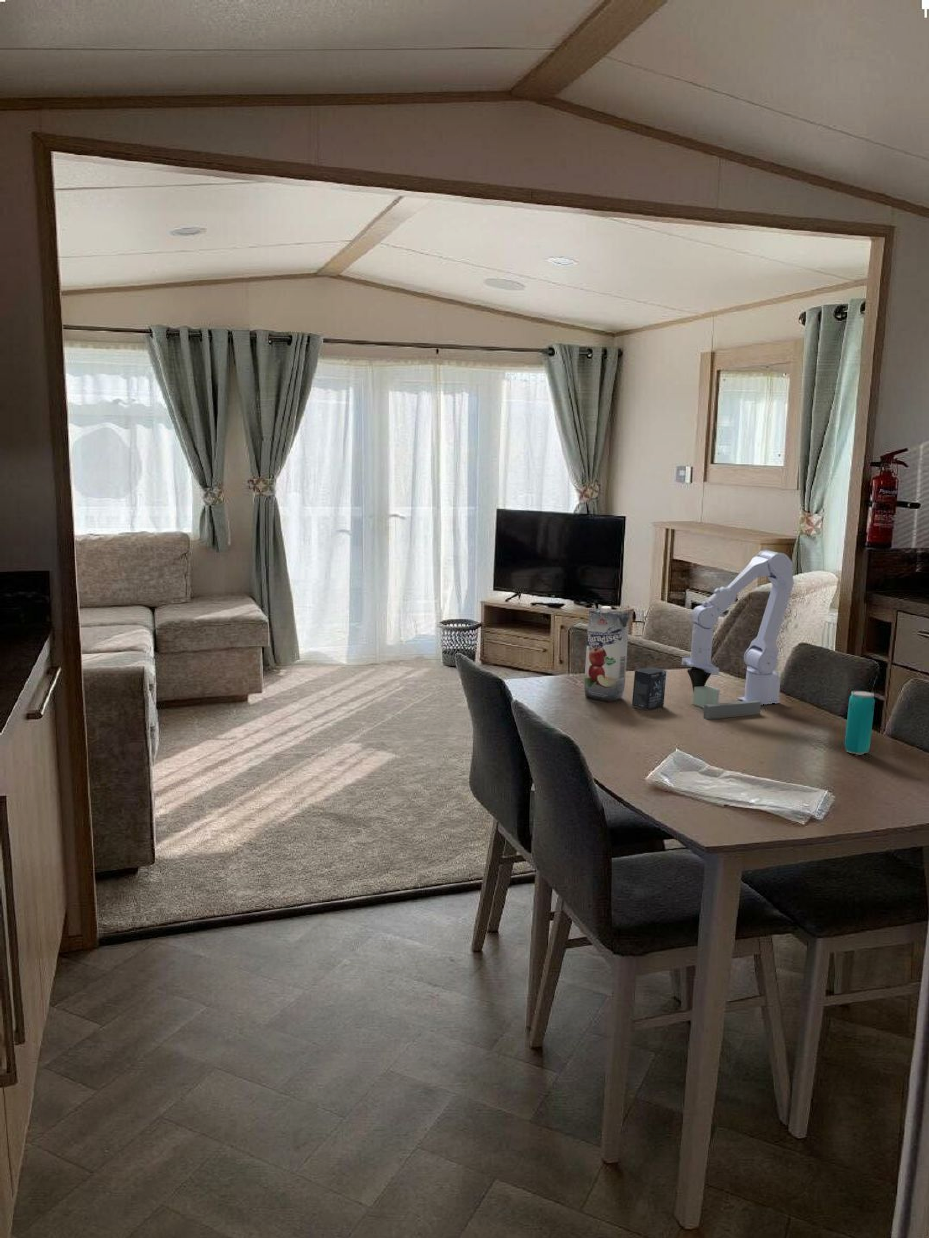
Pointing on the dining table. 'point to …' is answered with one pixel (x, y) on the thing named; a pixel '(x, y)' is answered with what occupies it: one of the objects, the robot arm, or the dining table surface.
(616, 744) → the dining table surface
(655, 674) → the box
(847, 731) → the beverage can
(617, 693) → the juice carton
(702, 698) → the block
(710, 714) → the board
